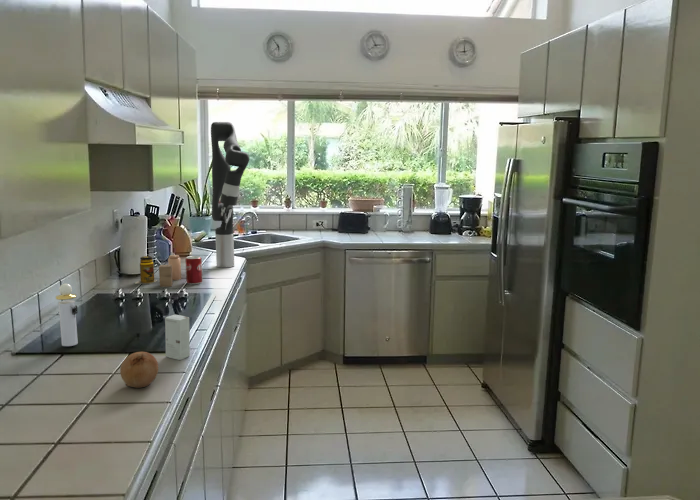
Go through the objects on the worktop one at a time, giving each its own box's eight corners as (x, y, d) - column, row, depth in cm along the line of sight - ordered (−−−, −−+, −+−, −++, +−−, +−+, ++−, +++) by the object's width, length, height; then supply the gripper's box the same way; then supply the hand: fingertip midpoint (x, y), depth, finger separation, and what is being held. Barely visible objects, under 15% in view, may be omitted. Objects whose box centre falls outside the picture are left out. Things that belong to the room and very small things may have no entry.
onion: (144, 401, 155) (142, 374, 149) (113, 387, 157) (110, 360, 151) (166, 376, 162) (165, 350, 157) (136, 364, 164) (134, 337, 159)
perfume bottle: (57, 349, 185) (52, 286, 182) (62, 343, 191) (57, 281, 187) (77, 348, 186) (72, 285, 183) (81, 342, 192) (77, 281, 189)
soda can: (186, 285, 274) (185, 259, 272) (186, 281, 281) (185, 256, 279) (202, 284, 276) (201, 258, 274) (202, 280, 283) (201, 255, 281)
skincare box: (165, 357, 179) (163, 317, 177) (176, 352, 183) (174, 313, 181) (180, 360, 176) (178, 320, 174) (191, 356, 180) (189, 316, 178)
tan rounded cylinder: (171, 277, 290) (170, 254, 288) (183, 277, 290) (182, 254, 288) (167, 280, 285) (166, 256, 283) (179, 280, 284) (177, 256, 282)
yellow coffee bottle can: (151, 284, 276) (150, 258, 274) (133, 283, 277) (132, 258, 275) (158, 280, 283) (156, 255, 281) (140, 280, 284) (139, 255, 282)
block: (161, 284, 275) (160, 265, 274) (172, 284, 276) (171, 264, 275) (160, 286, 270) (159, 267, 269) (171, 286, 271) (170, 266, 270)
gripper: (227, 190, 284) (220, 225, 287) (217, 193, 271) (210, 229, 275) (242, 194, 283) (234, 229, 287) (233, 197, 270) (225, 234, 274)
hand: (222, 229), depth 281 cm, fingers closed
